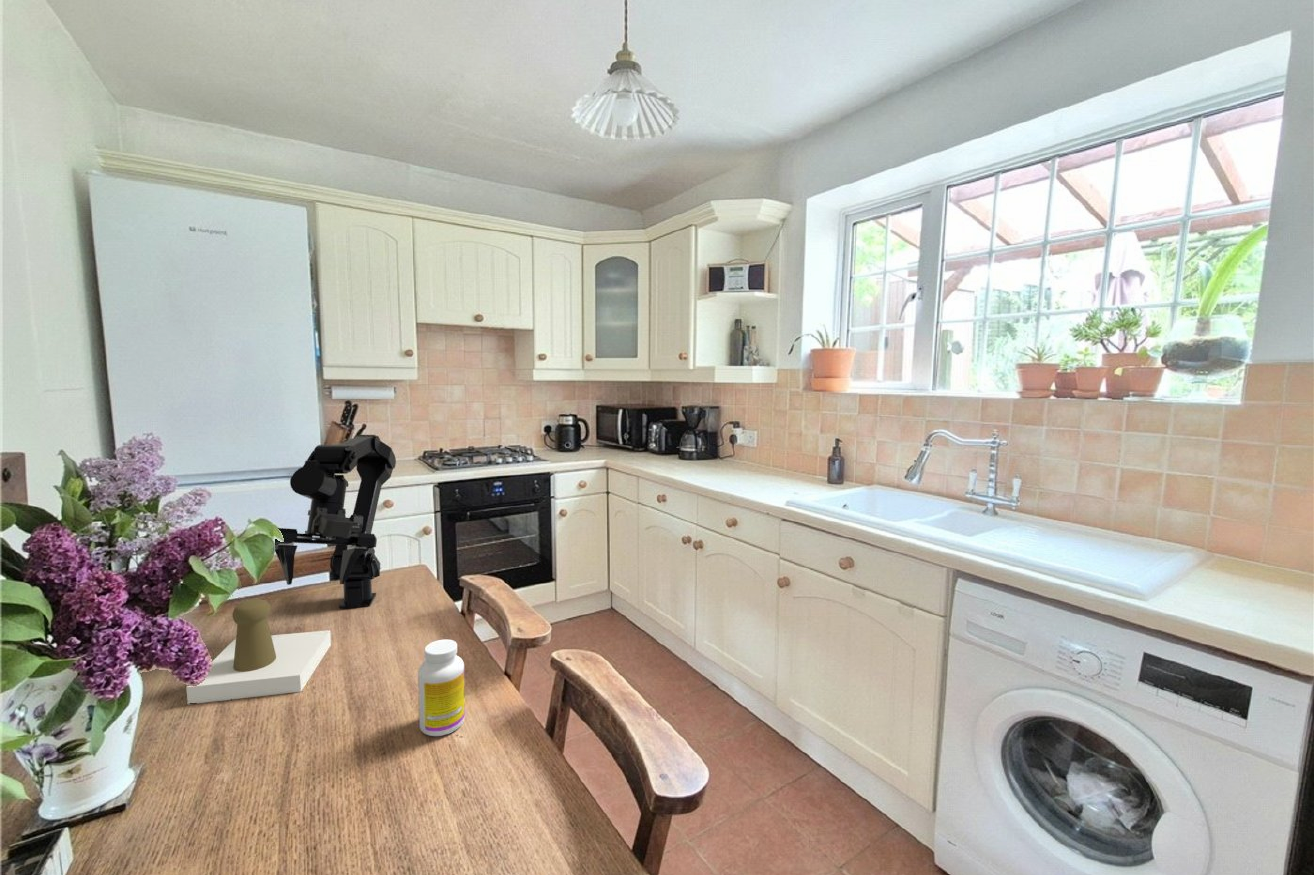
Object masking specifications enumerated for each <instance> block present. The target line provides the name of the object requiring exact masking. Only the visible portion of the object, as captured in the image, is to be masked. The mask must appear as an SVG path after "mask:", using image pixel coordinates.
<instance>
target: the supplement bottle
mask: <svg viewBox="0 0 1314 875" xmlns="http://www.w3.org/2000/svg"><path fill="white" fill-rule="evenodd" d="M457 653H458V643H457V642H456V641H455V640H453V639H440V640H437V639H436V640H435V641H432V642H430V643H428V644H427V645H426V646H425V648H424V656H423V657H424V659H425V660H424V661H423V662H422V663H421V664H420V666H419V668H418V671H417V681H418V683H417V684H418V685H417V686H418V719H419V720H418V722H419V724H418V725H419V729H420V731H421V732H422V733H423V734H425V735H427V736H428V737H429V736H430V737H443V736H447V735H448V734H451V733H453V732H455V731H456V730H458V729H459V728H460V727H461V726H462V725H463V723H464V721H465V719H466V718H465V717H466V702H465V701H466V700H465V699H466V698H465V697H466V696H465V695H466V694H465V688H466V687H465V686H466V685H465V662H464V661H463V659H462V657H460V656H459V655H457Z"/></svg>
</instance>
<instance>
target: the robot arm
mask: <svg viewBox="0 0 1314 875" xmlns="http://www.w3.org/2000/svg"><path fill="white" fill-rule="evenodd" d="M396 464H397V458H396V455H395V453H394V451H393V449H392V447H391V446H389V445H388V444H386V443H385V442H383V441H381V438H380V436H379V435H376V434H357V435H354V437H353V438H350V439H348V440H346V441H343V442H341V443H338V444H318V445H316V446H315V447H314V450H312V452H311V453H310V455H309V457H308V458H307V460H304V464H303V466H302V467H299V468H298V469H297V470H296V471H295V472H294V473H293V474H292V476H291V477H290V480H289V483H290V484H289V485H290V488H291V489H292V491H293V492H294V493H295V494H298V495H300V496H302V497H304V498H307V499H310V500H311V502H310V508H309V509H308V511H307V516H309V517H308V520H307V522H308V523H307V528H306V529H307V530H305V531H304V533H298V529H297V528H287V527H284V528H283V527H277V528H278V529H279V530H280V531H281V533H282V535H283V538H284V542H280V541H278V540H277V539H275V551H274V553H275V554H276V557H277V559H278V560H279V563H280V565H281V568H282V572H283V576H284V578H285V582H286V584H287V586H288V585H292V584H293V578H294V572H295V571H294V567H295V556H296V552H297V549H298V545H295V544H297V543H298V544H310V545H311V544H312V545H314V544H315V545H335V547H334V551H333V554H332V555H331V558H330V560H329V561H330V563H329V564H330V565H329V567H330V570H331V575H332V578H333V579H332V580H333V581H335V582H336V581H339V584H340V585H343V599H342V601H341V602H340V603H339V605H338V608H339V609H347V608H357V607H358V608H359V607H360V608H361V607H369V606H370V607H371V605H372V604H373V602H374V601H375V598H376V596H377V592H373V591H372V590H373V589H372V580H375V578H378V577H380V576H381V562H380V560H379V559H378V557H377V556H376V555H375V553H376V550H375V548H376V547H377V540H378V539H377V536H376V535H375V533H372V530H373V527H374V523H375V522H374V521H375V517H376V514H377V513H376V512H377V508H378V503H379V499H380V494H381V491H382V490H381V489H382V486H383V485H384V484H385V483H386V482H387V481H388V480H389V479H391V477H392V474H393V470H395V468H396ZM355 468H356V469H355ZM354 469H355V470H356V471H357V474H358V476H359V478H360V484H359V488H358V491H357V494H356V500H355V504H354V507H353V512H352V514H351V515H350V516H349V517H347V516H346V508H344V506H345V499H346V490H347V487H348V488H349V485H350V484H349V481H348V480H347V479H346V478H345V475H347V474H348V473H351V472H352V471H353V470H354ZM344 474H345V475H344Z"/></svg>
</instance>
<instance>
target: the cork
mask: <svg viewBox="0 0 1314 875" xmlns="http://www.w3.org/2000/svg"><path fill="white" fill-rule="evenodd" d="M270 613H271V606H270V603H269V602H268V601H267V600H265V599H261V598H260V599H259V598H255V599H250V600H245V601H243V602H240V603H239V604H237V605H236V606H235V607H234V609H233V612H232V619H233V622H234V623H235V624H236V625H237V626H236V637H235V639H236V644H235V654H234V665H233V668H234V670H236V671H239V672H247V671H253V670H257V669H260V668H263V667H265V666H268V665H270V664H271V663H272V662H274V661H275V659H276V653H275V649H274V645H273V641H272V637H271V635H272V633H271V629H270V625H269V622H268V621H269V620H268V617H269V616H270Z"/></svg>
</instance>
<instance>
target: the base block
mask: <svg viewBox="0 0 1314 875" xmlns="http://www.w3.org/2000/svg"><path fill="white" fill-rule="evenodd" d="M271 637H272V641H273V645H274V649H275V653H276V659H275V661H274V662H272V663H271V664H270V665H268V666H265V667H263V668H260V669H257V670H253V671H247V672H239V671H236V670H234V668H233V665H234V654H235V644H236V638H234V639H233V640H232V641H231V642H230V643H229V644H228V645H227V646H226V647H225V648H224V649H223V650H221V652H220V653H218V655H217V656H216V657H215V658H214V659H213V660H212V661H211V662H212V668H211V671H210V673H209V674H208V675H207V677H206V678H205V680H204V681H203V682H202V683H200V684H199V685H197V686H188V685H187V686H186V689H185V690H186V697H187V699H186V700H187V704H188V703H197V704H206V703H212V702H221V701H230V700H231V699H232V700H238V699H239V700H240V699H248V698H257V697H265V696H275V695H285V694H290V693H291V694H292V693H300V692H302V690H304V688H305V686H306V684H307V683H308V681H309V680H310V679H311V677H312V676H313V674H314V672H315V670H316V669H317V667H318V666H319V664H320V662H321V661H322V659H323V658H324V656H326V653H327V651H328V650H329V649H330V647H331V645H332V637H331V630H330V629H329V630H317V631H306V632H293V633H284V634H273V635H272V634H271ZM232 700H231V701H232Z"/></svg>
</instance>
